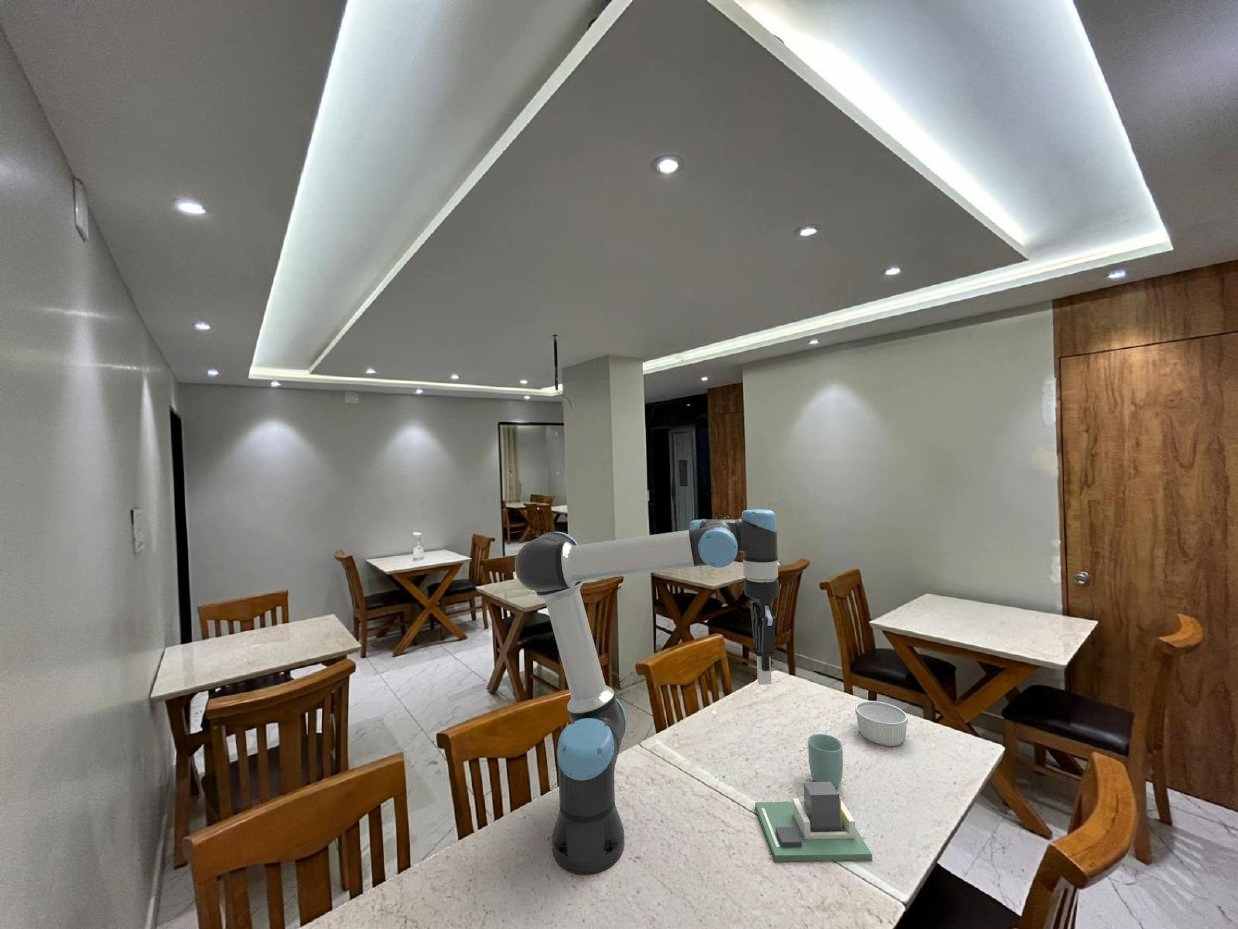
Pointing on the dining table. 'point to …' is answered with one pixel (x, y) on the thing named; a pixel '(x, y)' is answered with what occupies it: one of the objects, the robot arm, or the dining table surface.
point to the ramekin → (881, 722)
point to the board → (808, 835)
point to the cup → (825, 758)
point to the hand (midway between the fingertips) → (764, 682)
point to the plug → (822, 806)
